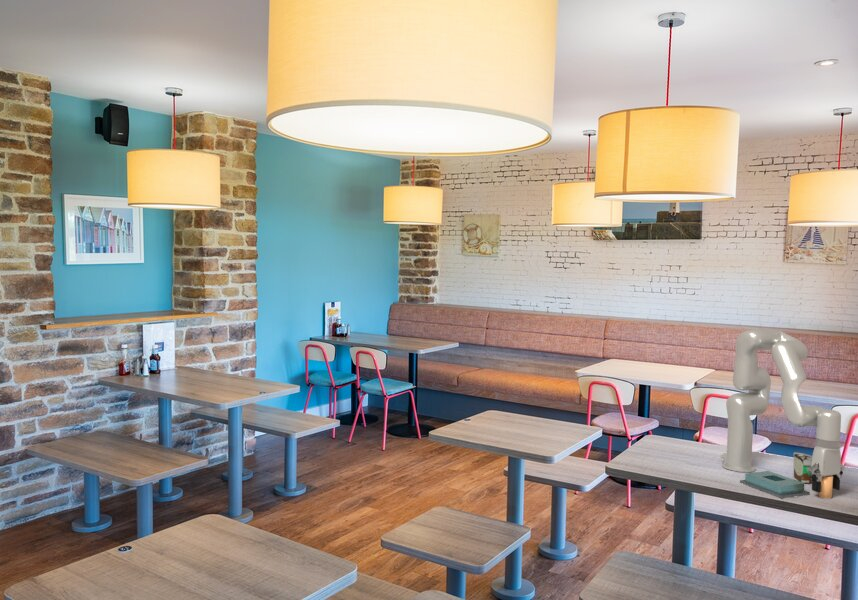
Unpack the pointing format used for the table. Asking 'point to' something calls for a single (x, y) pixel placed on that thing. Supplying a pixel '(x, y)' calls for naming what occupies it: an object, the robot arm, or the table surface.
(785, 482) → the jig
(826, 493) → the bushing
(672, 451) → the table surface
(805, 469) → the food container
